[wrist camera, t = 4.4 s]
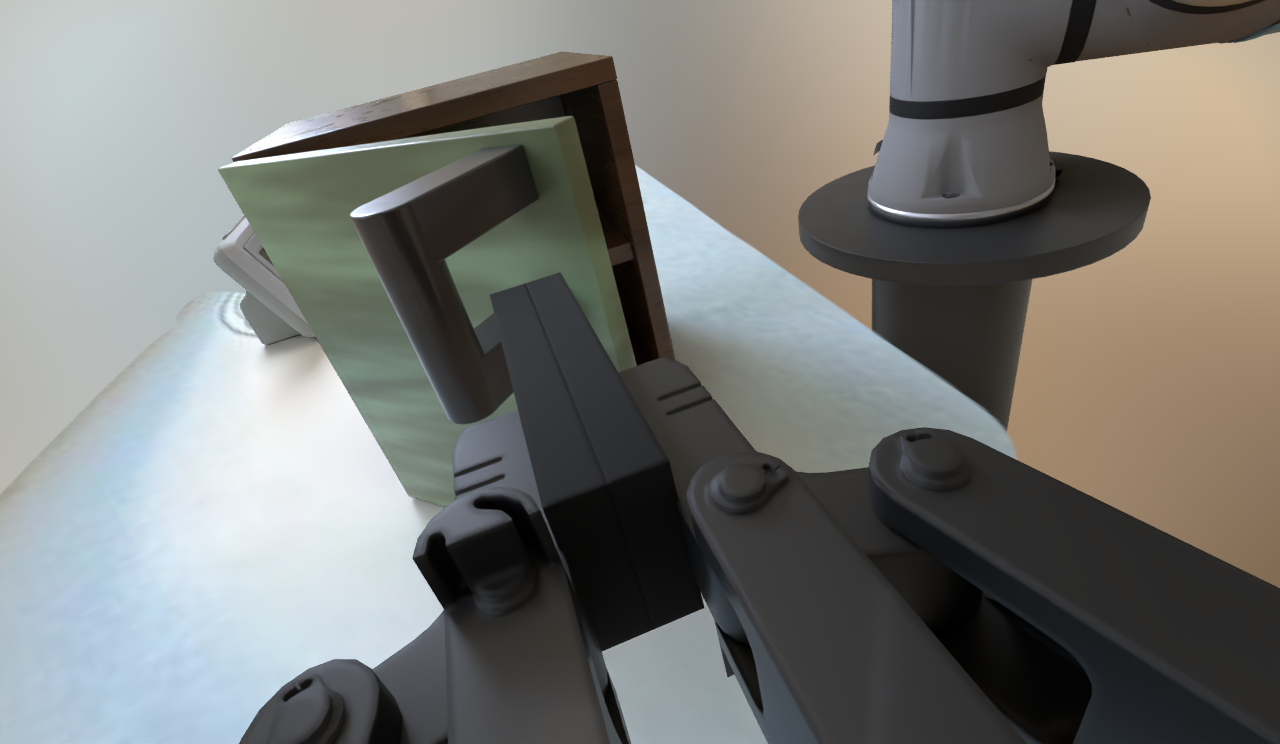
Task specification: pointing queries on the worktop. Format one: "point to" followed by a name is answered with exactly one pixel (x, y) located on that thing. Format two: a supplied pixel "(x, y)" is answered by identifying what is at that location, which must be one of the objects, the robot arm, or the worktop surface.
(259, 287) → the digital clock
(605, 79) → the cupboard
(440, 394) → the door
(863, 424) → the worktop surface
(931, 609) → the robot arm
